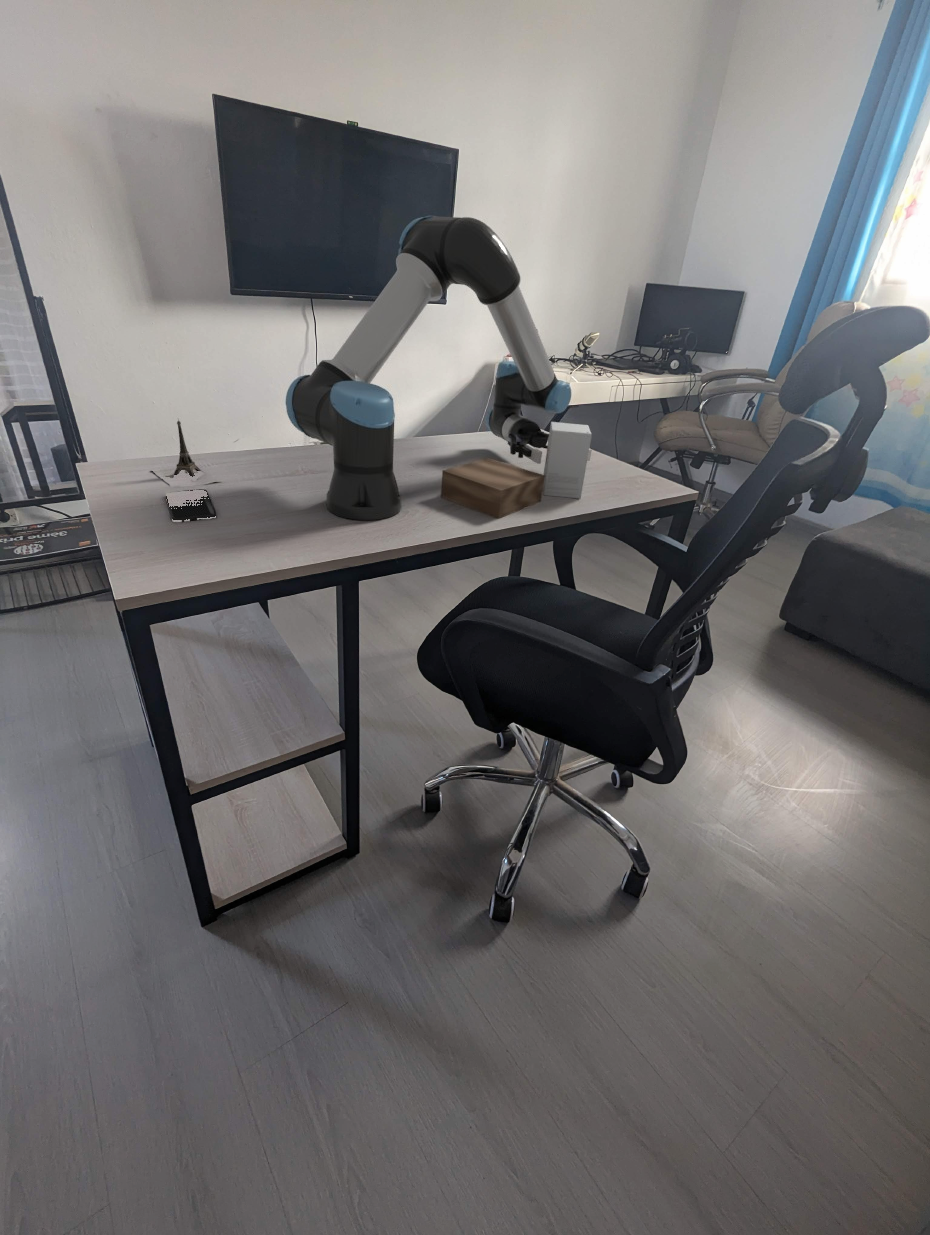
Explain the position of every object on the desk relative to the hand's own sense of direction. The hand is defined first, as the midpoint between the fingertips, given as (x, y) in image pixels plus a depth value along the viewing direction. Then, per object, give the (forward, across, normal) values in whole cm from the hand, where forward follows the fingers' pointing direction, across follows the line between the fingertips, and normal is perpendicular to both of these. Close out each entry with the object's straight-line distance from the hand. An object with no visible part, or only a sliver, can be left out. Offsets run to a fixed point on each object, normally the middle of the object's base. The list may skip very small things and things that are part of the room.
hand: (565, 456), depth 136 cm
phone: (-6, +81, -8) cm, 82 cm away
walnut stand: (+3, +20, -8) cm, 22 cm away
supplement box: (+1, +1, -8) cm, 8 cm away
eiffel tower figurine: (-24, +81, -9) cm, 85 cm away
